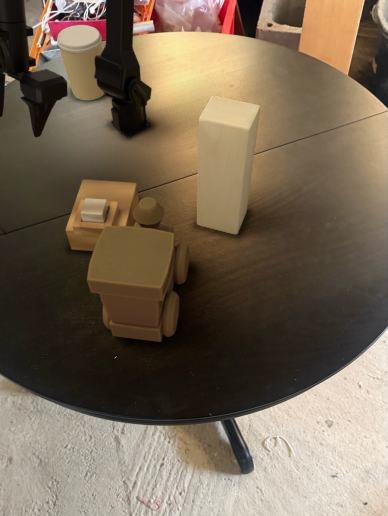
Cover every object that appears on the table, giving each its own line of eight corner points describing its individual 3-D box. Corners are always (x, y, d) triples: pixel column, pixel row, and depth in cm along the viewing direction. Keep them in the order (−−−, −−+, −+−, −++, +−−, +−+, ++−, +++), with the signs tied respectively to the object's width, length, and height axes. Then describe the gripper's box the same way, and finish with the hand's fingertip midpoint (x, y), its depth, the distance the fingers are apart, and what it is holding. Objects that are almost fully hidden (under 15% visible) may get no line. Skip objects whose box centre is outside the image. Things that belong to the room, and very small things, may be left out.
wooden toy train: (173, 356, 72) (168, 288, 58) (101, 347, 73) (78, 278, 59) (193, 258, 83) (192, 180, 69) (129, 251, 84) (115, 173, 70)
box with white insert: (87, 199, 91) (80, 170, 85) (139, 202, 90) (135, 174, 85) (70, 252, 84) (61, 225, 78) (126, 256, 83) (121, 229, 78)
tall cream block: (249, 208, 89) (262, 101, 71) (238, 235, 86) (249, 129, 68) (208, 199, 91) (212, 92, 73) (196, 225, 87) (196, 119, 69)
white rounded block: (87, 207, 81) (85, 198, 79) (108, 208, 81) (106, 199, 79) (83, 222, 79) (80, 213, 77) (104, 223, 79) (102, 214, 77)
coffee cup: (88, 75, 114) (77, 19, 103) (117, 88, 111) (109, 32, 100) (60, 93, 110) (46, 37, 99) (90, 107, 107) (79, 51, 96)
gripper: (-89, 3, 66) (-62, 118, 77) (3, 45, 60) (18, 162, 72) (-21, -3, 73) (-5, 103, 84) (67, 34, 67) (72, 142, 78)
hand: (18, 126), depth 79 cm, fingers open, 9 cm apart
